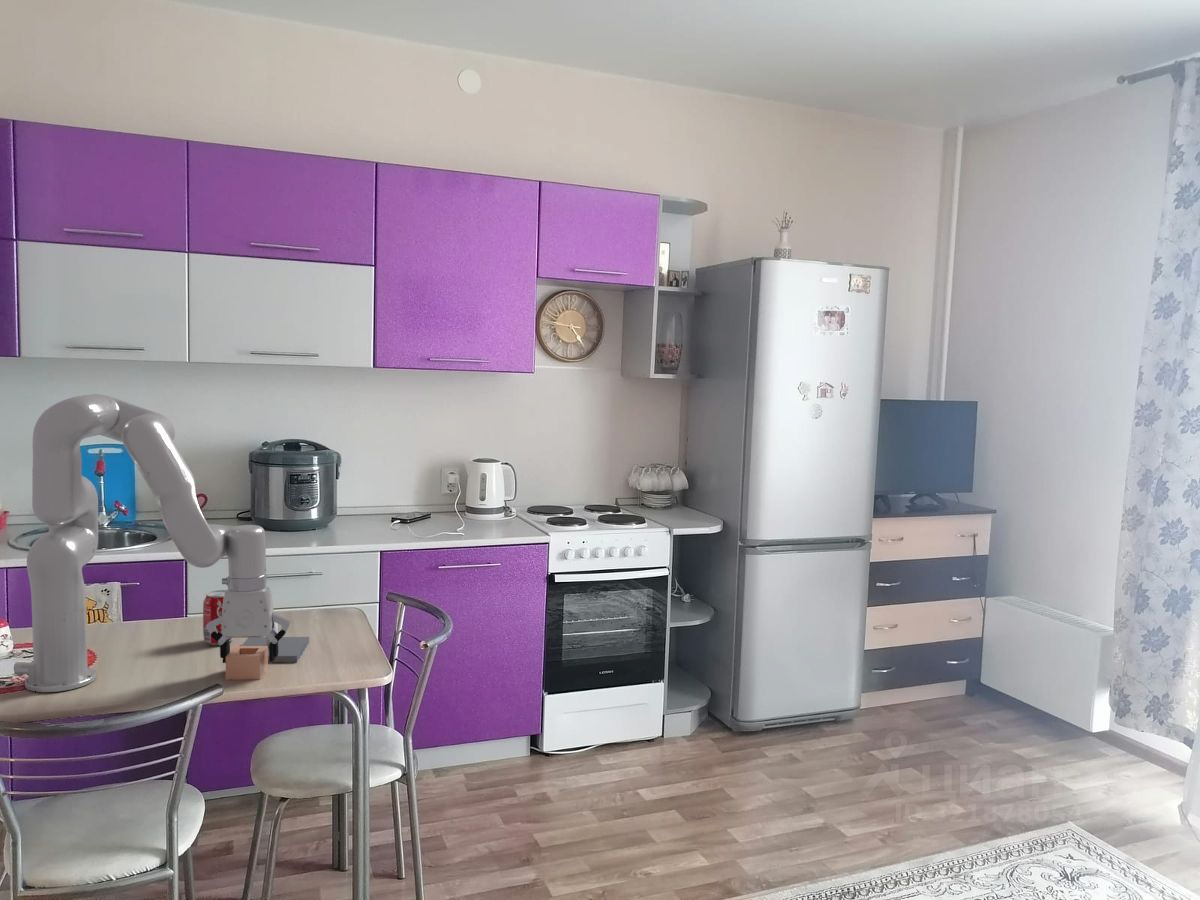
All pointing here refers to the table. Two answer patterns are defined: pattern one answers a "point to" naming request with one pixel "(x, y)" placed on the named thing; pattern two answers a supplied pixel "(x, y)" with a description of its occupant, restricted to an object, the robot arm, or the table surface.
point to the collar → (246, 662)
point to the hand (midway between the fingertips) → (249, 660)
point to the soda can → (213, 613)
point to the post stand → (282, 646)
